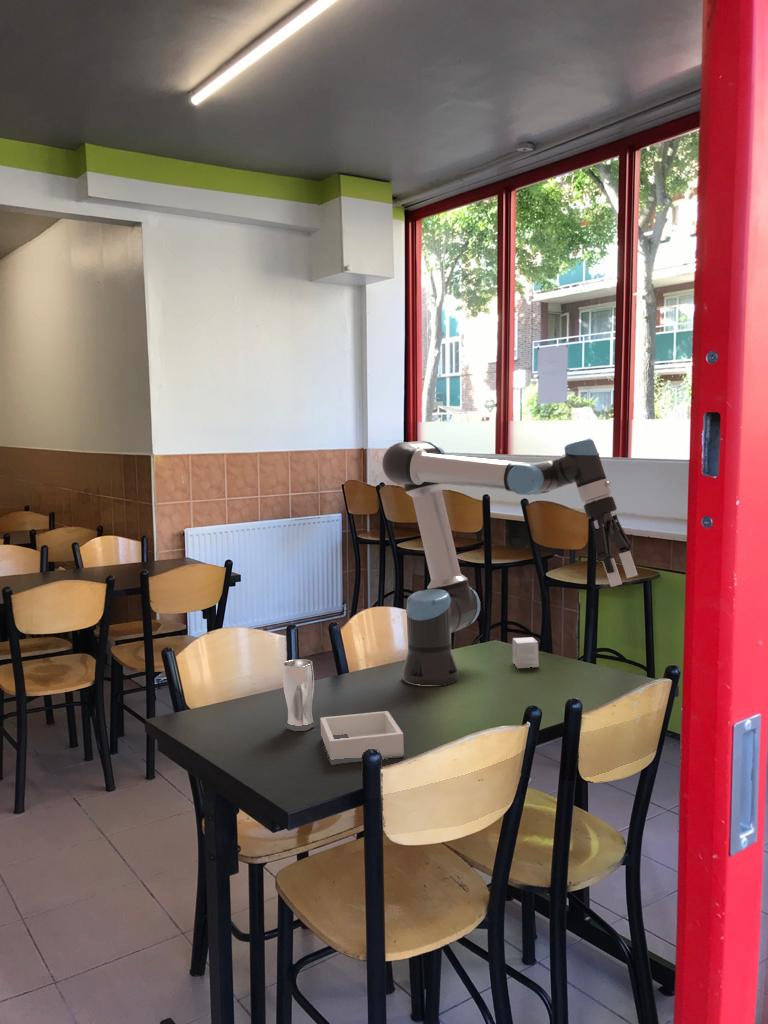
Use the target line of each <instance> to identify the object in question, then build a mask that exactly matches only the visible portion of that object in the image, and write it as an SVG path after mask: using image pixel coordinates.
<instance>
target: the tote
mask: <svg viewBox="0 0 768 1024" xmlns="http://www.w3.org/2000/svg"><path fill="white" fill-rule="evenodd" d="M319 720H320V721H319V722H320V737H321V736H322V738H323V741H324V744H325V746H326V749H327V751H328V754H329V756H330V759H331V760H334V759H344V758H361V757H362V754H363V752H365V751H366V750H368V749H377V750H379V751H380V753H381V755H382V757H383V760H382V761H384V757H385V758H386V757H392V756H402V755H404V756H405V753H404V752H405V751H404V750H405V749H404V747H405V746H404V745H405V744H404V733H403V731H402V730H401V728H400V727H399V725H398V724H397V722H396V721H395V719H394V718H393V716H392V714H390V712H389V711H388V710H385V711H384V710H382V711H376V712H375V711H372V712H365V713H364V712H363V713H356V714H355V713H354V714H353V713H352V714H344V715H335V716H324V717H320V719H319ZM342 734H343V735H344V734H347V735H348V737H349V738H340V739H334V737H333V735H342Z"/></svg>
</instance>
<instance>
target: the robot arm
mask: <svg viewBox="0 0 768 1024" xmlns="http://www.w3.org/2000/svg"><path fill="white" fill-rule="evenodd" d="M382 470H383V473H384V475H385V476H386V478H387V479H389V480H390V481H391V482H393V483H395V484H397V485H403V487H404V490H405V494H406V495H408V496H410V497H411V498H412V502H413V506H414V511H415V514H416V519H417V524H418V527H419V532H420V533H419V534H420V537H421V542H422V546H423V550H424V554H425V558H426V559H425V560H426V565H427V568H428V572H429V577H430V582H429V583H428V585H427V589H423V590H418V591H415V592H413V593H411V594H410V595H408V597H407V600H406V609H405V613H406V630H407V631H406V632H407V654H406V657H405V660H404V664H403V666H402V667H403V668H402V672H401V675H402V677H401V678H403V679H404V680H405V681H407V682H410V683H413V684H420V685H444V684H448V685H450V684H449V683H452V684H454V683H456V682H458V680H459V679H458V678H459V677H460V675H459V668H458V666H457V663H456V659H455V657H454V654H453V651H452V633H455V632H457V631H460V630H463V629H465V628H468V627H469V626H470V625H471V624H473V623H474V622H475V621H476V620H477V618H478V617H479V614H480V611H481V601H480V598H479V595H478V593H477V592H476V590H474V589H473V588H472V587H471V586H470V583H469V579H468V577H466V576H465V575H463V574H462V573H461V568H460V564H459V559H458V556H457V550H456V547H455V541H454V538H453V532H452V529H451V525H450V522H449V521H450V520H449V517H448V512H447V508H446V502H445V499H444V494H443V489H444V488H445V486H446V485H451V486H461V487H470V488H477V489H486V490H495V491H505V492H512V493H515V494H517V495H521V496H530V495H536V496H538V495H541V494H546V493H549V492H551V491H554V490H556V489H560V488H563V487H565V486H567V485H571V484H573V483H575V484H576V488H577V492H578V494H579V498H580V500H581V503H584V505H583V509H584V512H585V515H586V518H587V519H593V518H594V520H593V521H591V522H590V525H591V529H592V533H593V539H594V545H595V551H596V558H597V562H598V563H600V562H602V565H603V567H604V572H605V573H606V576H607V580H608V583H609V586H610V587H611V588H613V587H617V586H620V585H623V582H622V579H621V576H620V573H619V570H618V567H617V564H616V563H617V562H616V560H615V558H614V557H612V555H613V553H612V542H613V544H614V546H615V547H616V548H617V550H618V551H619V553H618V556H619V558H620V562H621V564H622V568H623V571H624V573H625V576H626V579H629V578H633V577H637V576H639V574H638V571H637V569H636V565H635V563H634V560H633V557H632V553H631V551H632V550H633V549H634V548H633V545H632V544H631V542H630V540H629V538H628V537H627V535H626V534H627V533H625V531H624V528H623V527H622V524H621V523H620V521H619V518H618V515H617V514H616V513H615V514H612V512H616V511H617V507H618V506H617V504H616V502H615V499H614V497H613V496H611V494H612V491H611V488H610V486H611V482H610V481H608V479H607V475H606V473H605V470H604V466H603V463H602V461H601V457H600V453H599V452H598V449H597V447H596V444H595V442H594V440H593V439H591V438H582V439H580V440H575V441H573V442H571V443H568V444H566V445H565V446H564V454H562V455H561V456H557V457H555V458H552V459H548V460H546V461H538V462H525V461H524V462H521V461H511V460H503V459H502V460H499V459H492V458H491V459H489V458H482V457H481V458H479V457H469V456H462V455H461V456H458V455H448V454H446V452H445V451H444V449H443V448H442V447H441V446H439V445H438V444H437V443H434V442H432V441H426V440H418V441H408V442H407V441H401V442H397V443H395V444H393V445H391V446H390V447H389V448H388V449H387V450H386V452H384V454H383V457H382ZM611 541H612V542H611ZM455 681H456V682H455ZM453 682H454V683H453ZM444 686H445V685H444Z"/></svg>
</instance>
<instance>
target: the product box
mask: <svg viewBox="0 0 768 1024" xmlns="http://www.w3.org/2000/svg"><path fill="white" fill-rule="evenodd" d="M512 663H513V665H514V664H515V665H514V666H515V667H516V668H517V669H530V667H532V668H539V666H540V665H539V642H538V641H537V639H535V638H534V637H533V636H532V637H528V636H527V637H513V638H512Z"/></svg>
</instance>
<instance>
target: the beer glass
mask: <svg viewBox="0 0 768 1024" xmlns="http://www.w3.org/2000/svg"><path fill="white" fill-rule="evenodd" d="M282 664H283V665H282V667H283V668H282V686H283V692H284V696H285V702H286V706H287V723H288V724H290V725H295V726H302V725H308V724H311V723H312V722H313V723H314V719H313V714H312V707H313V699H314V698H313V697H314V692H315V691H314V690H315V689H314V688H315V678H314V677H315V676H314V667H313V660H310V659H302V658H300V659H290V660H286V661H284V662H283V663H282Z"/></svg>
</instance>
